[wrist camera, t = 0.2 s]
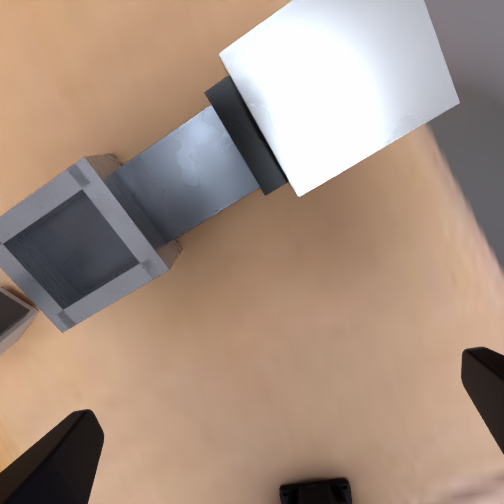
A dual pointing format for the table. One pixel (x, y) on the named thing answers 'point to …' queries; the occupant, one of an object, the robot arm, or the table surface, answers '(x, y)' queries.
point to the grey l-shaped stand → (231, 148)
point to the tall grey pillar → (13, 318)
